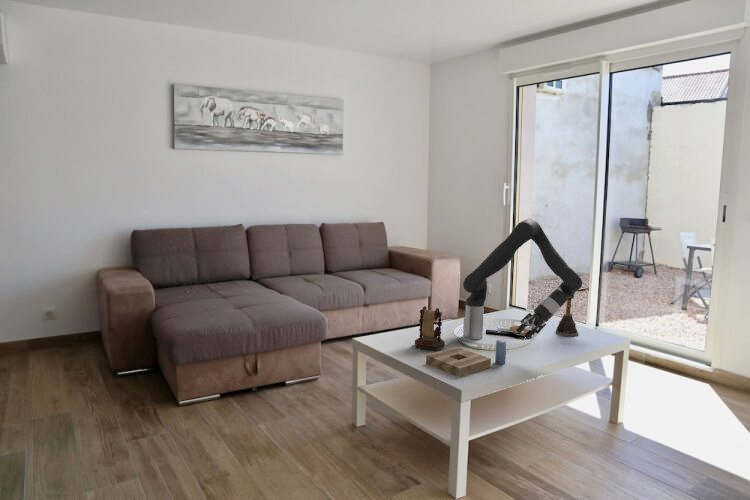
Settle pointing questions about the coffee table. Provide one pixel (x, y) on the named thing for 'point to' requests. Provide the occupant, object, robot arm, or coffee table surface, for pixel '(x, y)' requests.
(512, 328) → the decorative rock
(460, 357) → the socket block
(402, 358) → the coffee table surface
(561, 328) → the bird statue
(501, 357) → the peg
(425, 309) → the scroll
